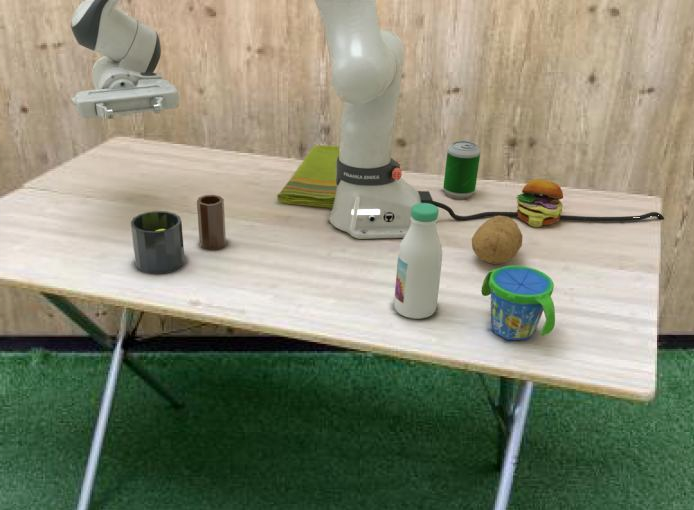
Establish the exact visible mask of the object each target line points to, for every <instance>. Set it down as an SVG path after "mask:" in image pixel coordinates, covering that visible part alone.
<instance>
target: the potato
mask: <svg viewBox="0 0 694 510" xmlns="http://www.w3.org/2000/svg"><path fill="white" fill-rule="evenodd" d="M471 246H472V250H473V252H474V253H475V255H476V256H477V257H478V258H479V259H480V260H481V261H482V262H485V263H487V264H492V265H500V264H503V263H506V262H509V261H511V260H513V259H514V258H515V257H516V256H517V254H518V252H519V251H520V249H521V248H522V246H523V233H522V231H521V229H520V228H519V226H518V224H517V222H516V221H515V220H514V219H513V218H511V217H510V216H499V215H498V216H491V217H490V218H488V219H487V220H486V221H485V222H483V223H482V224H481V225H480V226H479V227H478V228H477V229H476V230H475V233H474V234H473V235H472V238H471Z"/></svg>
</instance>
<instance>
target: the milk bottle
mask: <svg viewBox="0 0 694 510" xmlns="http://www.w3.org/2000/svg"><path fill="white" fill-rule="evenodd" d="M439 211H440V210H439V207H436V206H435V205H433V204H429V203H418V204H415V205H413V206H412V208H411V218H410V219H411V221H412V222H411V225H410V228H409V230H408V232H407V234H406V235H405V237H404V238H402V241H401V243H400V244H399V245H400V246H399V249H398V254H397V263H396V264H397V265H396V274H395V275H396V276H395V277H396V278H395V287H394V297H393V298H394V299H393V307H394V309H395V311H396V312H397V314H399V315H401V316H403V317H404V318H409V319H416V320H417V319H418V320H419V319H425V318H429V317H431V316H433V315H434V313H436V310H437V306H438V298H439V290H440V282H441V273H442V265H443V264H442V263H443V246H442V242H441V239H440V236H439V234H438V229H437V222H438V218H439V213H440V212H439Z"/></svg>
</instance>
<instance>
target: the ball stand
mask: <svg viewBox="0 0 694 510" xmlns="http://www.w3.org/2000/svg"><path fill="white" fill-rule="evenodd" d="M196 210H197V211H196V212H197V224H198V237H199V238H198V239H199V244H200V245H199V246H200V247H201V248H202V249H204V250H208V251H217V250H221V249H223V248H225V247H226V241H227V237H226V236H227V234H226V216H225V215H226V214H225V199H224V198H223V197H222V196H220V195H217V194H205V195H201V196H199V197H198V198H197V200H196Z"/></svg>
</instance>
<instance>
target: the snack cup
mask: <svg viewBox="0 0 694 510" xmlns="http://www.w3.org/2000/svg"><path fill="white" fill-rule="evenodd" d="M554 286H555V284H554V281H553V279H552V278H551V277H550V276H549V275H548V274H546V273H545V272H543V271H541V270H539V269H536V268H533V267H529V266H524V265H506V266H502V267H498V268H495V269H492V270H490V271H488V272H487V273H486V275H485V277H484V279H483V282H482V285H481V290H480V291H481V295H482V296H483V297H487V296H490V315H489V316H490V329H491V330H492V331H493V332H494V333H495V334H496V335H498V336H499V337H502V338H504V339H505V340H507V341H508V340H514V341H522V340H528V339H530V337H532V336H533V334H535V332H536V330H537V327H538V325H539V323H540V320H541V317H542V316H543V314H544V317H545V322H544V325H543V327H542V330H541V331H540V336H546V335H548V334H550V333H551V332H552V331H553V330H554V329H555V325H556V312H555V311H556V309H555V305H554V299H553V298H552V295H553V292H554V288H555V287H554Z"/></svg>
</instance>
